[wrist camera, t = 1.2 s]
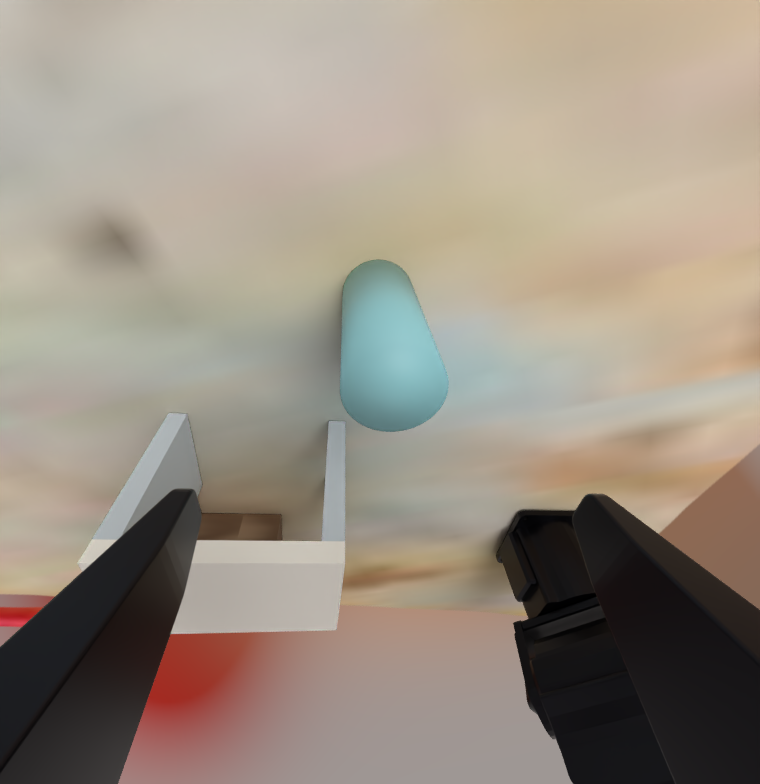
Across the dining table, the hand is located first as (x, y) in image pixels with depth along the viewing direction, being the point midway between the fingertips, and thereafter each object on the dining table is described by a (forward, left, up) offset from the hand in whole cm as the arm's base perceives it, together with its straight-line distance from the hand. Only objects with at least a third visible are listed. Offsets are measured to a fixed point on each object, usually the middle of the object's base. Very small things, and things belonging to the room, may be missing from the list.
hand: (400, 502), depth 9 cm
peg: (0, 0, -12) cm, 12 cm away
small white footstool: (+6, +11, -12) cm, 17 cm away
